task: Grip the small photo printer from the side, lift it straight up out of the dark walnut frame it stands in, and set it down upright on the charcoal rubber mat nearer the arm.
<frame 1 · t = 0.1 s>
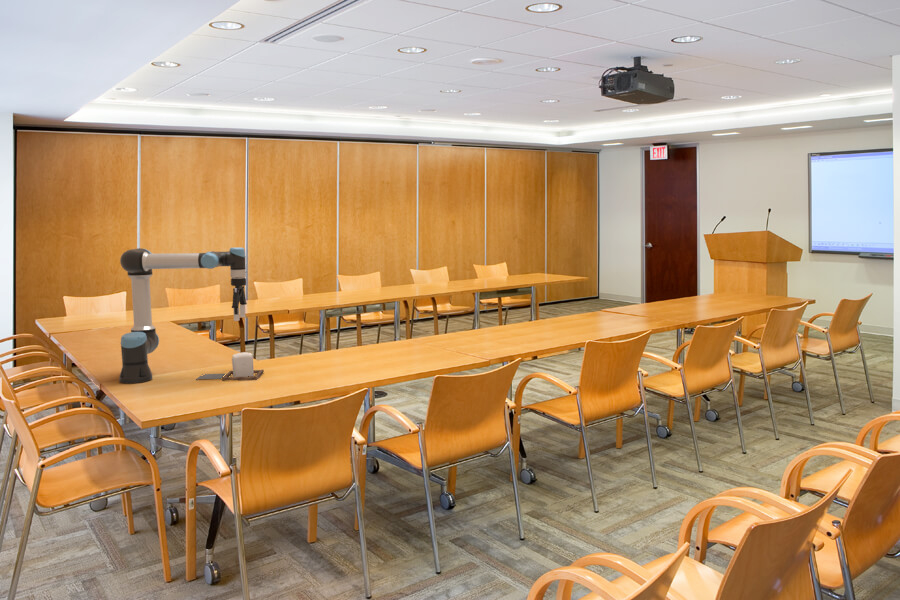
hand: (239, 319, 377), 28 cm above the table, tool pointing down, fingers open, 13 cm apart
walnut frame: (243, 376, 370), on the table
rubber mat: (211, 377, 369), on the table
photo printer: (243, 377, 370), resting in walnut frame
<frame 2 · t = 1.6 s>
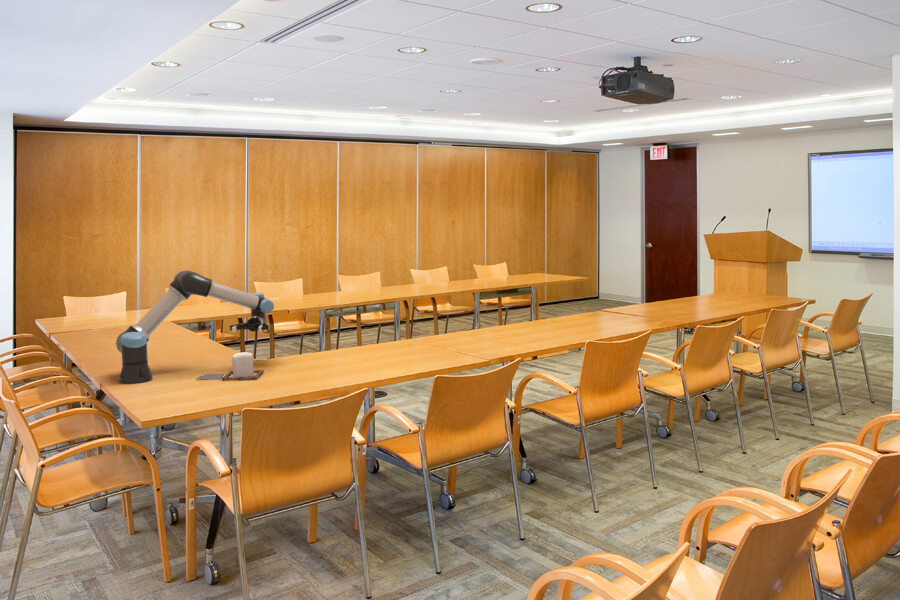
hand: (246, 329, 377), 22 cm above the table, tool horizontal, fingers open, 13 cm apart
nothing on the table moved.
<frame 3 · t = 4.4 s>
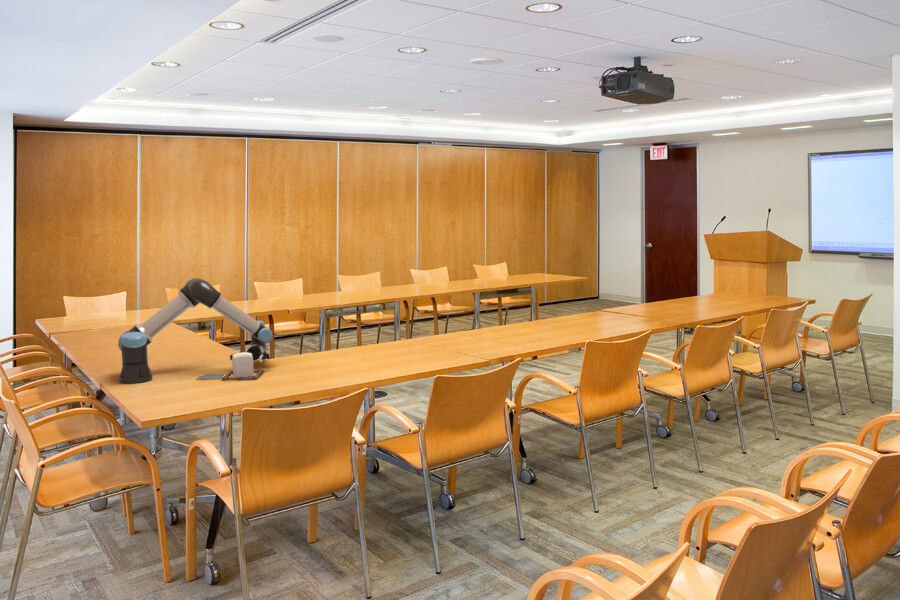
hand: (246, 360, 375), 7 cm above the table, tool horizontal, fingers open, 13 cm apart
nothing on the table moved.
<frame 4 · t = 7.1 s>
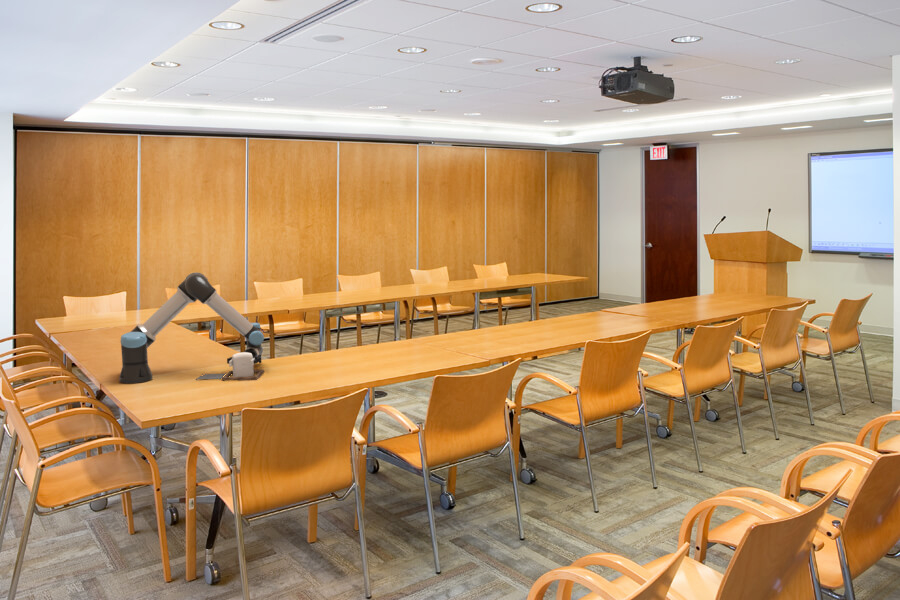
hand: (240, 363, 365), 8 cm above the table, tool horizontal, fingers closed on photo printer, 10 cm apart
photo printer: (243, 377, 370), resting in walnut frame, touching gripper
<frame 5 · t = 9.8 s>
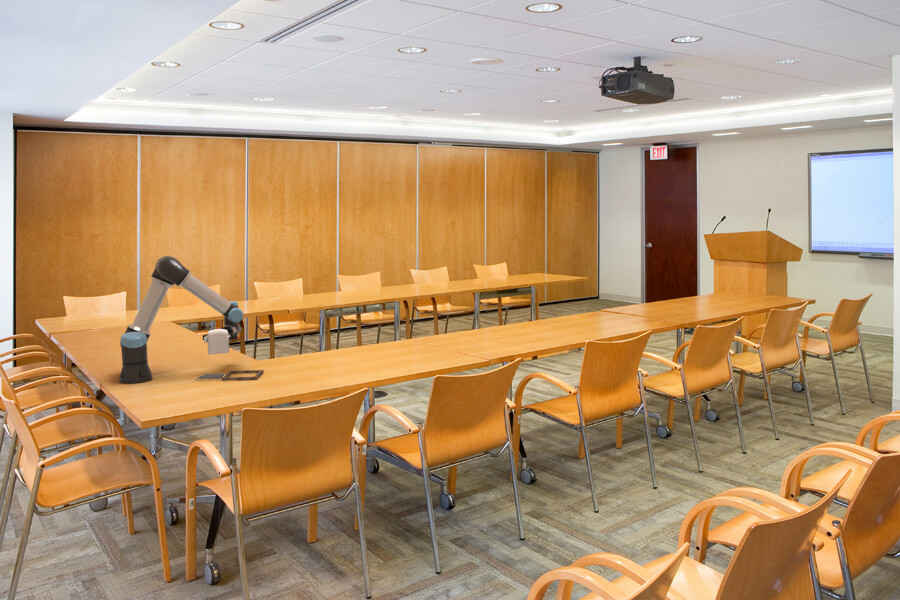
hand: (215, 340, 363), 20 cm above the table, tool horizontal, fingers closed on photo printer, 10 cm apart
photo printer: (218, 353, 368), point 12 cm above the table, touching gripper
when the fingers open (9 cm above the table, at t = 12.7 s): photo printer drops 1 cm, resting on rubber mat.
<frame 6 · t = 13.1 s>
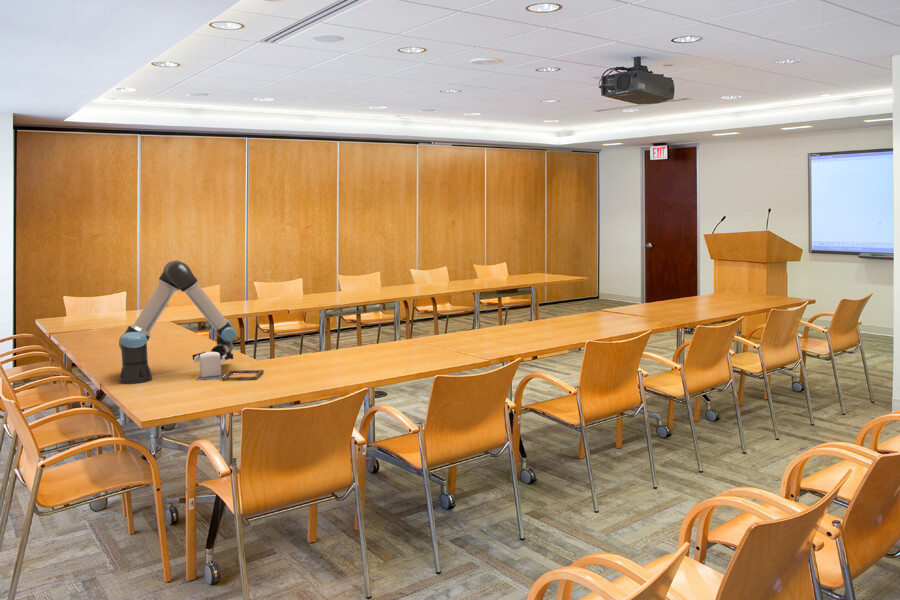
hand: (208, 359, 365), 9 cm above the table, tool horizontal, fingers open, 13 cm apart
photo printer: (210, 376, 369), resting on rubber mat
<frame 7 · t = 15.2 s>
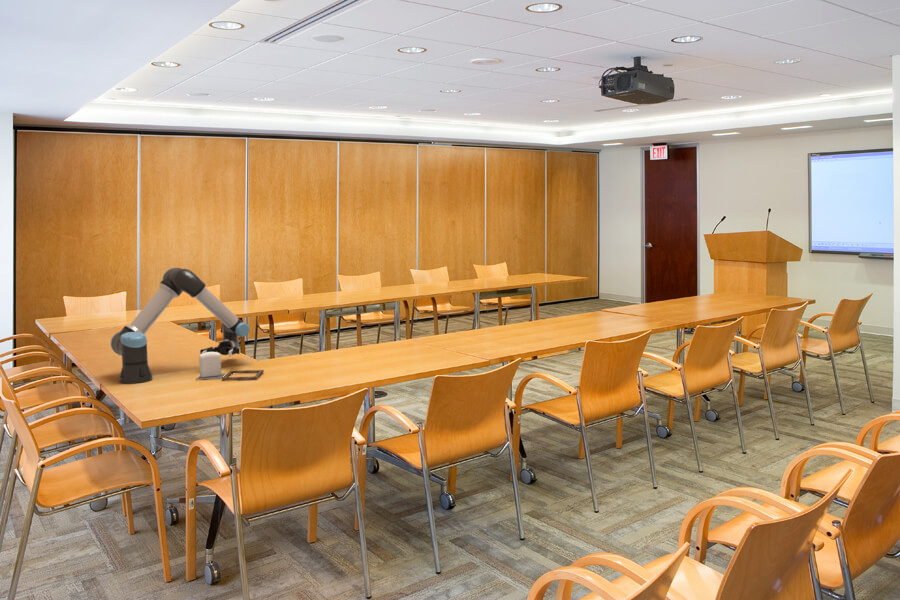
hand: (216, 354, 379), 10 cm above the table, tool horizontal, fingers open, 13 cm apart
nothing on the table moved.
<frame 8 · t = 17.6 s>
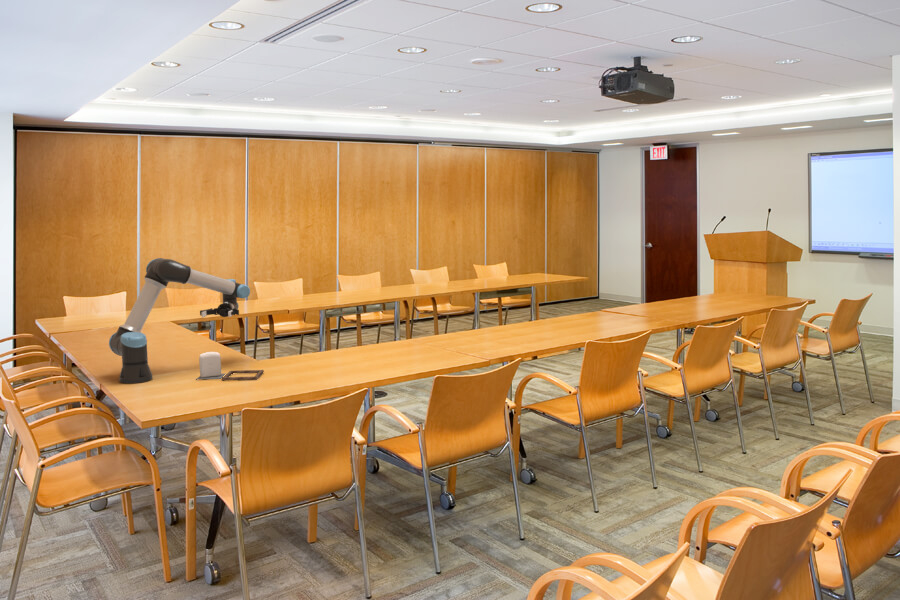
hand: (215, 314, 379), 30 cm above the table, tool horizontal, fingers open, 13 cm apart
nothing on the table moved.
at the end: photo printer inside the target area on the rubber mat (0.3 cm from its centre), point 0.3 cm above the rubber mat's base; photo printer tilted 0°; the gripper is holding nothing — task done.
